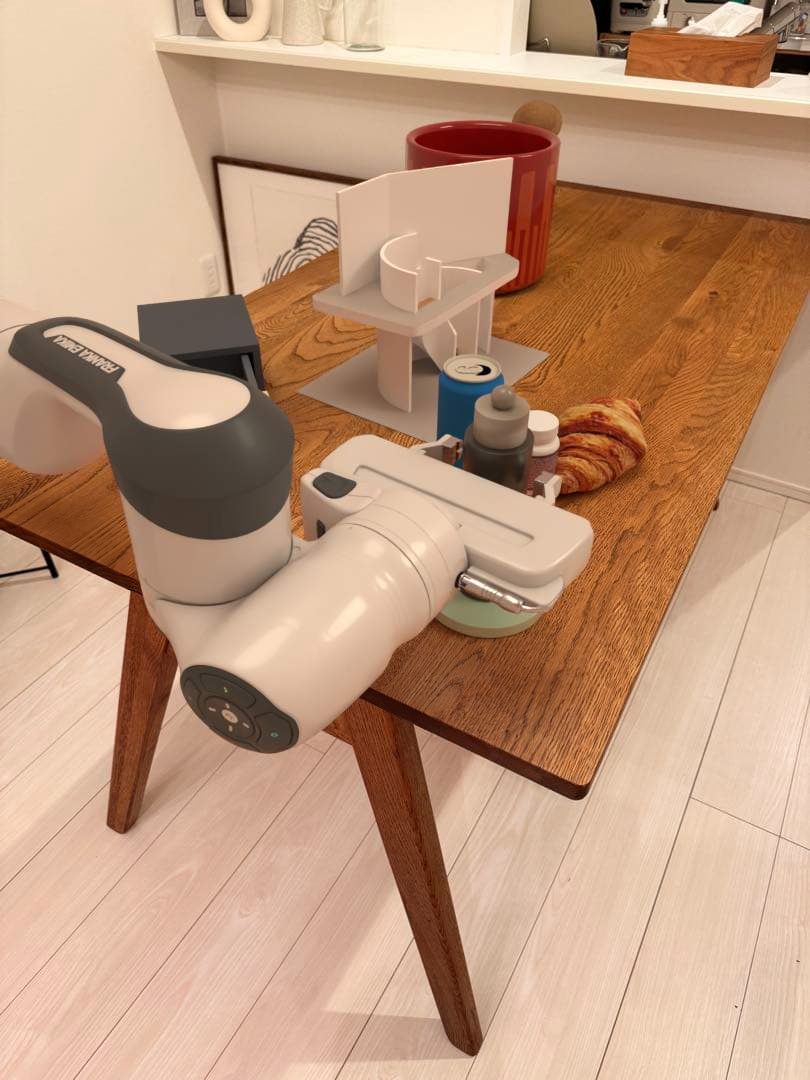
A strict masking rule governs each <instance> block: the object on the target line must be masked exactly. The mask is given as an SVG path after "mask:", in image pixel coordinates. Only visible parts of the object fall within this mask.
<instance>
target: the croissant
mask: <svg viewBox="0 0 810 1080" xmlns="http://www.w3.org/2000/svg"><path fill="white" fill-rule="evenodd" d="M641 409H642V407H641V405H640V404H639V401H638V400H637V398H636V399H635V398H634V399H630V398H628V397H626V396H616V397H609V396H603V395H599V396H595V397H593V398H592V399H590V400H588V402H587V403H583V404H578V405H575V406H570V407H567V408H565V410H563V412H562V413H561V415H560V416H559V417H557V418H558V421H559V427H558V434H557V436H558V438H559V444H560V446H559V451H558V457H557V464H556V470H555V474H554V475H558V476H561V477H562V483H561V488H560V492H559V494H562V495H564V494H570V493H575V492H592V491H594V490H596V489H598V488H600V487H601V486H603V485H604V484H607V483H611V482H614V481H616V480H617V479H619V478H620V477H621V476H622V475H624V474H625V472H627V471H628V470H630V469H632V468H633V467H635V466H637V465H638V464H639V463H641V461H643V460H644V459H645V457H646V455H647V453H648V445H647V441H646V439H645V432H644V428H643V424H642V423H643V422H642V420H643V419H642V413H641V412H642V411H641Z"/></svg>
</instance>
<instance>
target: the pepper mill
mask: <svg viewBox="0 0 810 1080" xmlns="http://www.w3.org/2000/svg"><path fill="white" fill-rule="evenodd" d="M530 411H531V406H530V404H529V402H528V401H527V400H526V399H525V398H523V397H521V396H519V395H517V394H516V392H515V390H514V388H513V387H512V386H511V387H510V386H508V385H499V386H497V387H496V388H495V389H494V390H493V391H492V393H490V394H486V395H484V396H482V397H480V398H479V399H478V400H477V401H476V403H475V411H474V423H472V424H471V425H470V426H468V428H467V429H466V431H465V439H464V454H463V469H462V470H464V471H466V472H469V473H471V474H474V475H476V476H479V477H481V478H484V479H487V480H489V481H492V482H494V483H497V484H499V485H502V486H504V487H507V488H509V489H512V490H514V491H517V492H520V493H522V494H525V495H527V490H528V483H529V475H530V468H531V461H532V453H533V446H534V435H533V432H532V431H531V430H530V429H529V428H528V421H529V413H530ZM460 592H461V593H463V594H464V595H465V596H467V597H468V598H471V599H473V600H476V601H481V602H491V601H488V600H485V599H482V598H479V597H477V596H474V595H472V594H470V593H468V592H466V591H464V590H462V589H461V590H460Z"/></svg>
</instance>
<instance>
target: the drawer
mask: <svg viewBox="0 0 810 1080" xmlns="http://www.w3.org/2000/svg"><path fill="white" fill-rule="evenodd" d="M181 362H183V363H185V364H187V365H190V366H193V367H197V368H202V369H207V370H212V371H217V372H222V373H225V374H229V375H232V376H235V377H238V378H240V379H242V380H244V381H247V382H248V383H250V384H252V385H254V386H255V387H257V388H258V386H257V383H256V380H255V376H254V373H253V370H252V367H251V364H250V360H249V357H248V354H247V353H241V354H233V355H225V356H217V357H209V358H201V359H193V360H185V361H181ZM262 392H264V393H265V394H266V395H267V396H268V397H269V398H270V395H269V392H268V390H265V391H262Z"/></svg>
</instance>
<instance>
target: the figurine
mask: <svg viewBox="0 0 810 1080" xmlns="http://www.w3.org/2000/svg"><path fill="white" fill-rule="evenodd" d="M512 116H513V117H512V119H511V122H512V123H520V124H525V125H531V126H535V127H539V128H542V129H545V130H548V131H550V132H552V133H554V134H555V135H557V136H558V135H559V134H560V133H561V131H562V126H563V116H562V114H561V112H560V110H559V108H557V107H556V106H555V104H552V103H550V102H548V101H545V100H542V99H536V100H531V101H530V102H527V103H524V104H522V105H521V106H520V107H519V108H517V110H515V113H514V114H513V115H512Z"/></svg>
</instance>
